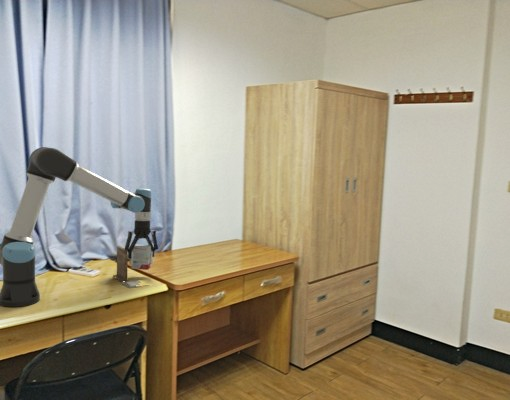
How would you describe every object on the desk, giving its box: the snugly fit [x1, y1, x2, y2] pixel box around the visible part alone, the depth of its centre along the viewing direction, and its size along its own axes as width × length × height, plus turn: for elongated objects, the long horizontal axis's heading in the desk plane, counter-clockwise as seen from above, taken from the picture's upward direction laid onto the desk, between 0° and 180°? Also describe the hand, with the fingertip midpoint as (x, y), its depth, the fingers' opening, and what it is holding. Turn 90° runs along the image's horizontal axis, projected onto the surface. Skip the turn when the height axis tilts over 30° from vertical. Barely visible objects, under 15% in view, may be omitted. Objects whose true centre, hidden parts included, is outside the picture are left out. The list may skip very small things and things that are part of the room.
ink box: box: [130, 243, 151, 271], centre depth 233 cm, size 9×5×12 cm, turn 84°
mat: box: [122, 279, 141, 289], centre depth 220 cm, size 10×10×1 cm
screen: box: [112, 245, 129, 283], centre depth 227 cm, size 3×12×15 cm, turn 33°
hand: (140, 264), depth 233 cm, fingers closed on ink box, 9 cm apart
